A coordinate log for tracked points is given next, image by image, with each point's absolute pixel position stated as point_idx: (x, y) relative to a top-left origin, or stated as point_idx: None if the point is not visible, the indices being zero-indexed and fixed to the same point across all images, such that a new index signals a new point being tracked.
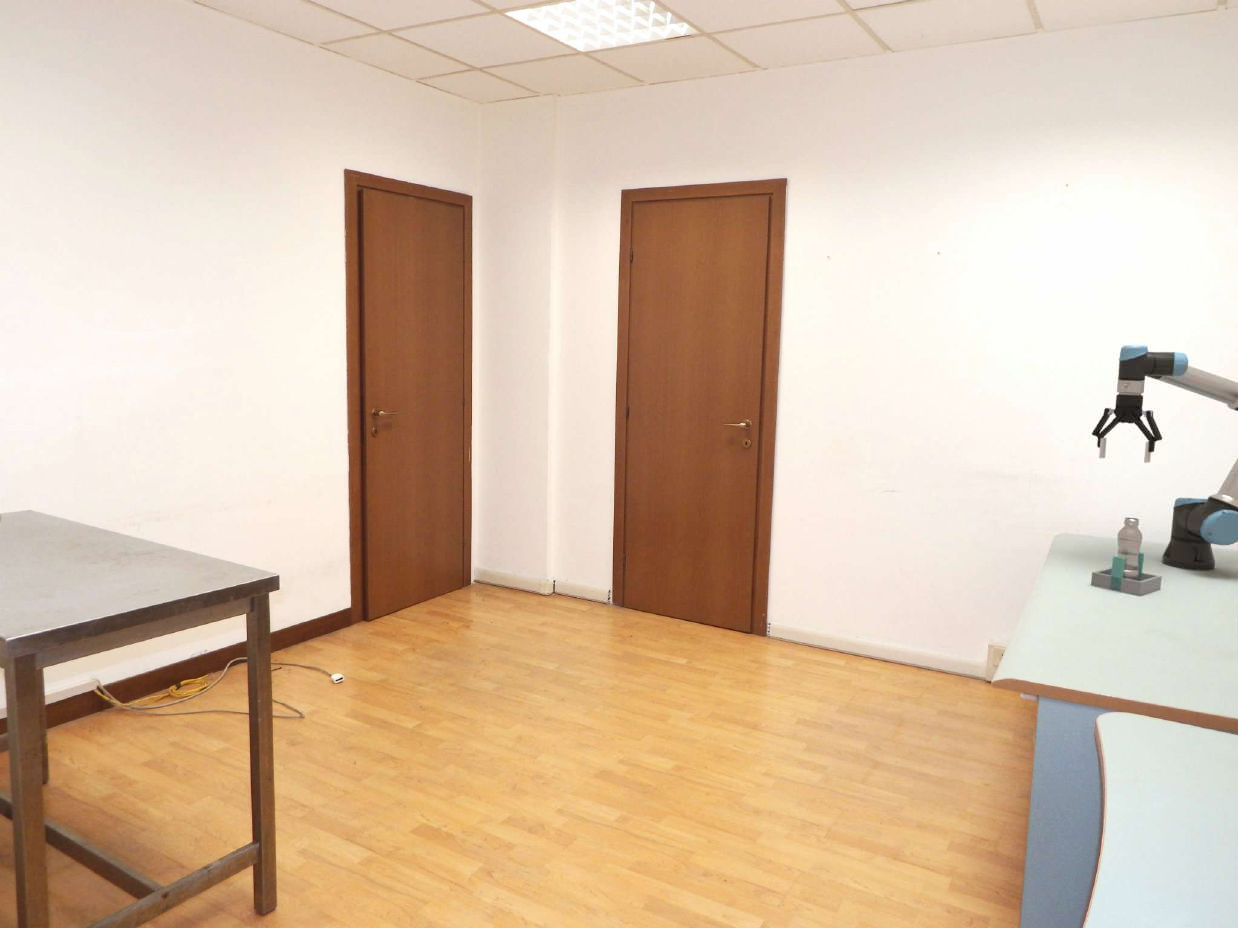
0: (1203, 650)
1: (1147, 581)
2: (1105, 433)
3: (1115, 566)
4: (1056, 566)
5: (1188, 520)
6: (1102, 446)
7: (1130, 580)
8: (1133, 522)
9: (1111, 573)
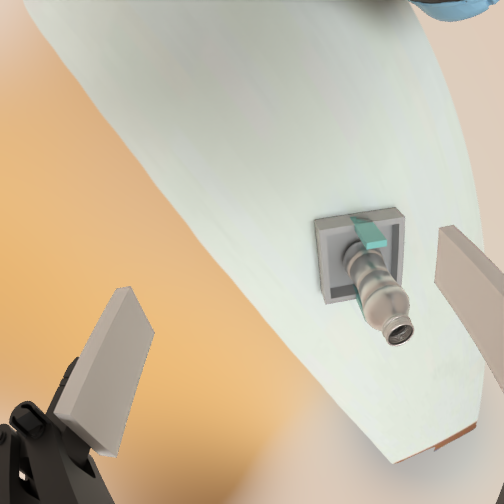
0: (471, 371)
1: (402, 269)
2: (99, 489)
3: None
4: (199, 229)
5: None
6: (131, 398)
7: None
8: (405, 336)
9: (357, 301)
